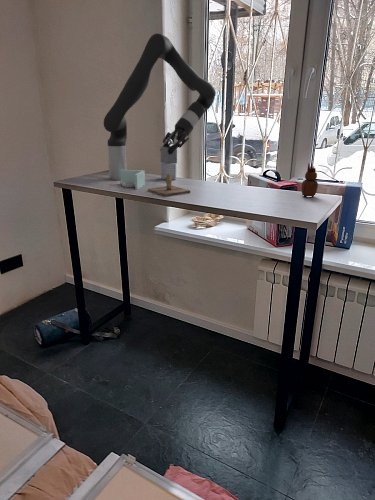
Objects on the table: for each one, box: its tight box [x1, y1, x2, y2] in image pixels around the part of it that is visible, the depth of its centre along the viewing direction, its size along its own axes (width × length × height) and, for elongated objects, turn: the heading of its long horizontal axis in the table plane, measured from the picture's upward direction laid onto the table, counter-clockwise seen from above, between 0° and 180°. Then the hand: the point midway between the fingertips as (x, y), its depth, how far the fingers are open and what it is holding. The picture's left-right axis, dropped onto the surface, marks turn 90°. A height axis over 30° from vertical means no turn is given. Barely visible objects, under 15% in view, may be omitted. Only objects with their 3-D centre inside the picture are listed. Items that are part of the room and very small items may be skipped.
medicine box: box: [160, 162, 177, 181], centre depth 199 cm, size 8×4×9 cm, turn 84°
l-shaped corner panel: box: [120, 169, 146, 190], centre depth 180 cm, size 12×12×8 cm
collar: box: [160, 145, 178, 164], centre depth 165 cm, size 5×5×7 cm
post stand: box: [147, 174, 191, 197], centre depth 169 cm, size 14×14×8 cm
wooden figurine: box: [300, 162, 319, 197], centre depth 163 cm, size 7×6×15 cm
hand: (165, 152), depth 163 cm, fingers closed on collar, 5 cm apart
